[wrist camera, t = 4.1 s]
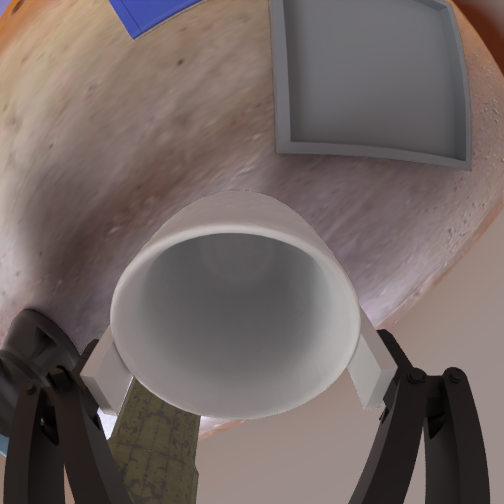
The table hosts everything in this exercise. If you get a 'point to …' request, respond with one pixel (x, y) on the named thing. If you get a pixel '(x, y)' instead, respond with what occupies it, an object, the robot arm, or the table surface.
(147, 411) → the thermos
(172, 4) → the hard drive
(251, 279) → the mug
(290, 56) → the tray
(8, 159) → the table surface
